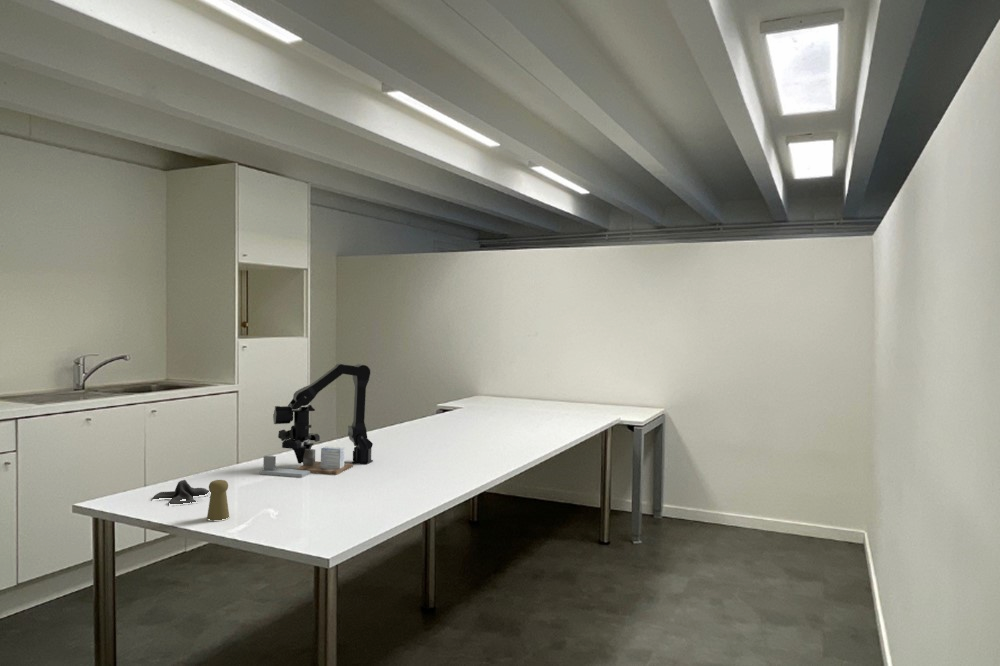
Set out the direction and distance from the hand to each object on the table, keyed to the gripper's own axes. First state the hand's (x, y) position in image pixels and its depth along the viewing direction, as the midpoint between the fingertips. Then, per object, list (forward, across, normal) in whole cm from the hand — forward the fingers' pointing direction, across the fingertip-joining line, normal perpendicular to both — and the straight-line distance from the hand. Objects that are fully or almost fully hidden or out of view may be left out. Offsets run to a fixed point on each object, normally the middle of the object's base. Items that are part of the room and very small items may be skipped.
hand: (301, 462), depth 264 cm
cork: (+2, +66, +11) cm, 67 cm away
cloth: (+3, +48, -13) cm, 50 cm away
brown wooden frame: (+2, 0, +10) cm, 10 cm away
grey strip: (+2, +12, 0) cm, 12 cm away
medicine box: (+2, 0, +14) cm, 14 cm away
